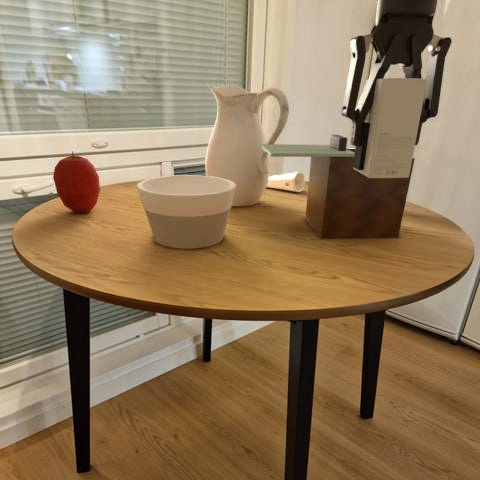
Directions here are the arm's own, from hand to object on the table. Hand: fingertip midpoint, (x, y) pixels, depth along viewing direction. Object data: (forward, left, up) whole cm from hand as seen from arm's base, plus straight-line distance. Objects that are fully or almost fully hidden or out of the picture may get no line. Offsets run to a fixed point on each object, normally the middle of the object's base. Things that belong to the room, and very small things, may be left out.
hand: (380, 167), depth 66 cm
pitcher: (+15, -46, -17) cm, 52 cm away
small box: (0, 0, -1) cm, 1 cm away
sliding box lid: (+6, -24, -1) cm, 25 cm away
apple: (+56, -40, -17) cm, 71 cm away
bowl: (+30, -19, -17) cm, 40 cm away
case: (-6, -24, -17) cm, 30 cm away
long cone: (+4, -67, -17) cm, 69 cm away
